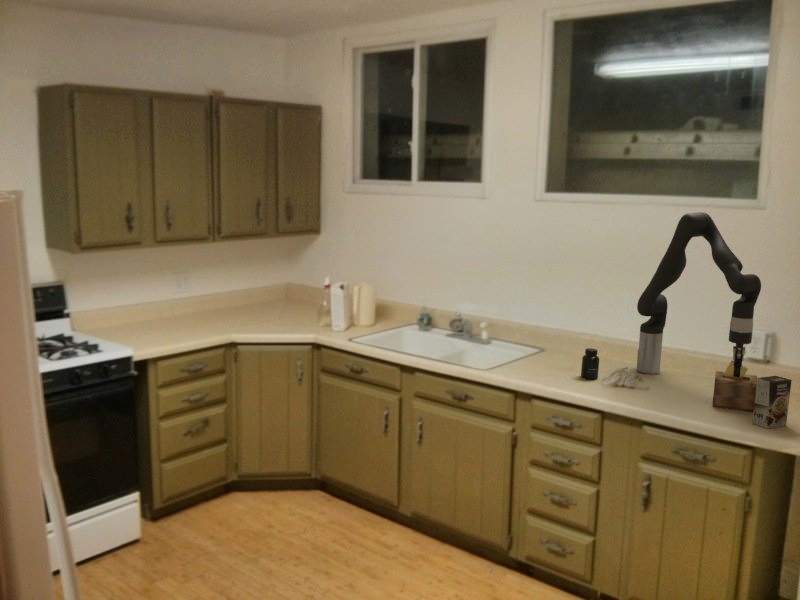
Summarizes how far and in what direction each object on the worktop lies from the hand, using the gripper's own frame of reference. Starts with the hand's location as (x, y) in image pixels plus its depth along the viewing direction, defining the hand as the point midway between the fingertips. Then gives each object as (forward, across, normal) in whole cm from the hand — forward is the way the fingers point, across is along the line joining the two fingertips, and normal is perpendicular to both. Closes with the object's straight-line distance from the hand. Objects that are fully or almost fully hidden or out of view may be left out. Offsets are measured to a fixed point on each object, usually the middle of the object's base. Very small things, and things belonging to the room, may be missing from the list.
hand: (736, 375), depth 266 cm
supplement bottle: (+11, -12, -54) cm, 56 cm away
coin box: (+11, 0, 0) cm, 11 cm away
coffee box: (+11, +18, +11) cm, 24 cm away
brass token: (+1, 0, -2) cm, 2 cm away
